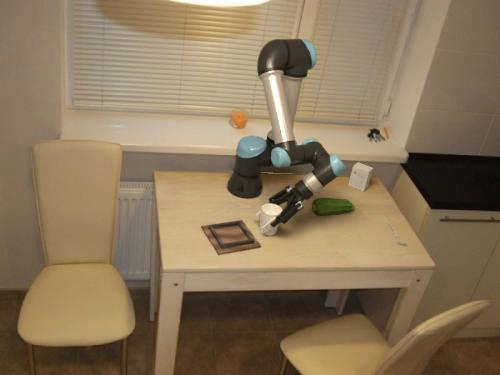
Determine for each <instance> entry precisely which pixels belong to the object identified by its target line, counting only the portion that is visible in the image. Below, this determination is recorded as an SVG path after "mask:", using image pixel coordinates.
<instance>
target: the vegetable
mask: <svg viewBox="0 0 500 375" xmlns="http://www.w3.org/2000/svg"><path fill="white" fill-rule="evenodd" d="M355 207H356V206H355V205H354V203H352V202H351V201H350V200H348V199H345V198H334V197H324V196H323V197H318V198H315V199H314V200H313V201H312V204H311V210H312V212H313V213H314V214H316V215H318V216H326V215H333V214H340V213H344V214H345V213H349V212H351V211H353V210H354V209H356V208H355Z"/></svg>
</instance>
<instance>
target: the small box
mask: <svg viewBox="0 0 500 375" xmlns="http://www.w3.org/2000/svg"><path fill="white" fill-rule="evenodd" d="M373 171H374V167H371V166H369V165H366V164H364V163H361V162H359V161H358V162H356V163H355V164H354V165H353V166H352V169H351V172H350V176H349V180H348V185H347V186H348V187H351V188H354V189H356V190H358V191H361V192H363V193H364V192H365V191H366V190H367V189H368V188H369V185H370V182H371V178H372V174H373Z"/></svg>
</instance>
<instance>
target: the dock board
mask: <svg viewBox="0 0 500 375" xmlns="http://www.w3.org/2000/svg"><path fill="white" fill-rule="evenodd" d="M200 228H201V230H202V231H203V233H204V234H205V236H206V238H207V239H208V241H209V242H210V244H211V246H212V247H213V249H214V251H215V252H216V254H217V255H218V256H221V255H227V254H232V253H238V252H243V251H244V252H245V251H250V250H255V249H261V248H262V244H261V243H260V242H259V241H258V239H257V238H256V237H255V236H254V234H253V232H252V231H251V229H250V228H249V227H248V226H247V225H246V223H245V222H244V220H243V219H239V220H233V221H226V222H221V223H213V224H205V225H201V226H200Z"/></svg>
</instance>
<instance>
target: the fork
mask: <svg viewBox="0 0 500 375" xmlns="http://www.w3.org/2000/svg"><path fill="white" fill-rule="evenodd" d="M386 217H387V216H386V215H383V219H384V221H385V222H386V223H387V225H388V226H389V227H390V228H391V229H392V231H394V236H393V237H395V236H396V237H397V236H398V238H397V239H396V238H395V241H396V242H397V243H399V245H406V246H407V245H408V244H407V243H406V242H405V241H404V240H403V239H402V240H400V239H399V234H398V233H397V231H396V229H395V228H394V227H393V225H392V224H391V222H390V221H389V219H388V217H387V218H386Z"/></svg>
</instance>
